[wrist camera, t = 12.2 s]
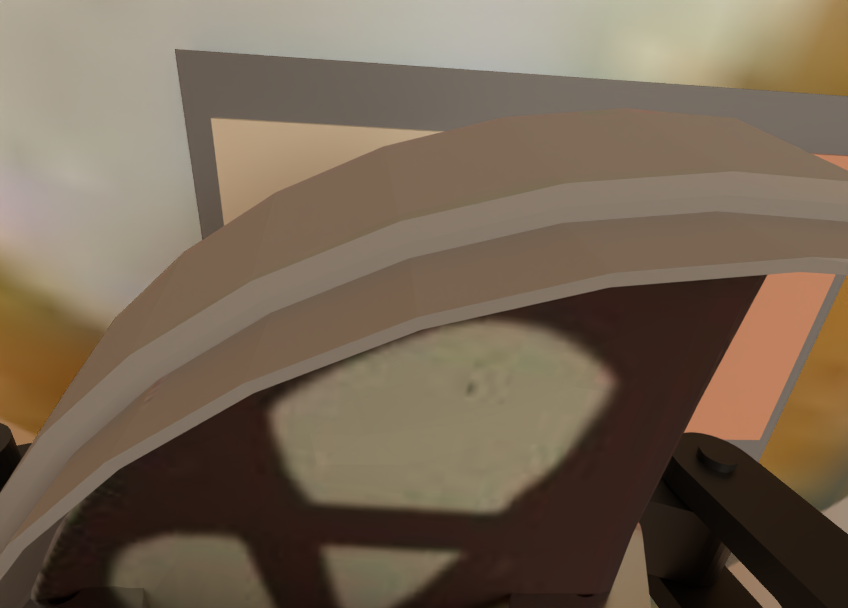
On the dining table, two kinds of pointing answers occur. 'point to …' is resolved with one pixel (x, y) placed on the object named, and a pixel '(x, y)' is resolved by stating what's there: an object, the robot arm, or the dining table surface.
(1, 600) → the food container
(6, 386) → the dining table surface
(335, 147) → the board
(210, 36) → the dining table surface
